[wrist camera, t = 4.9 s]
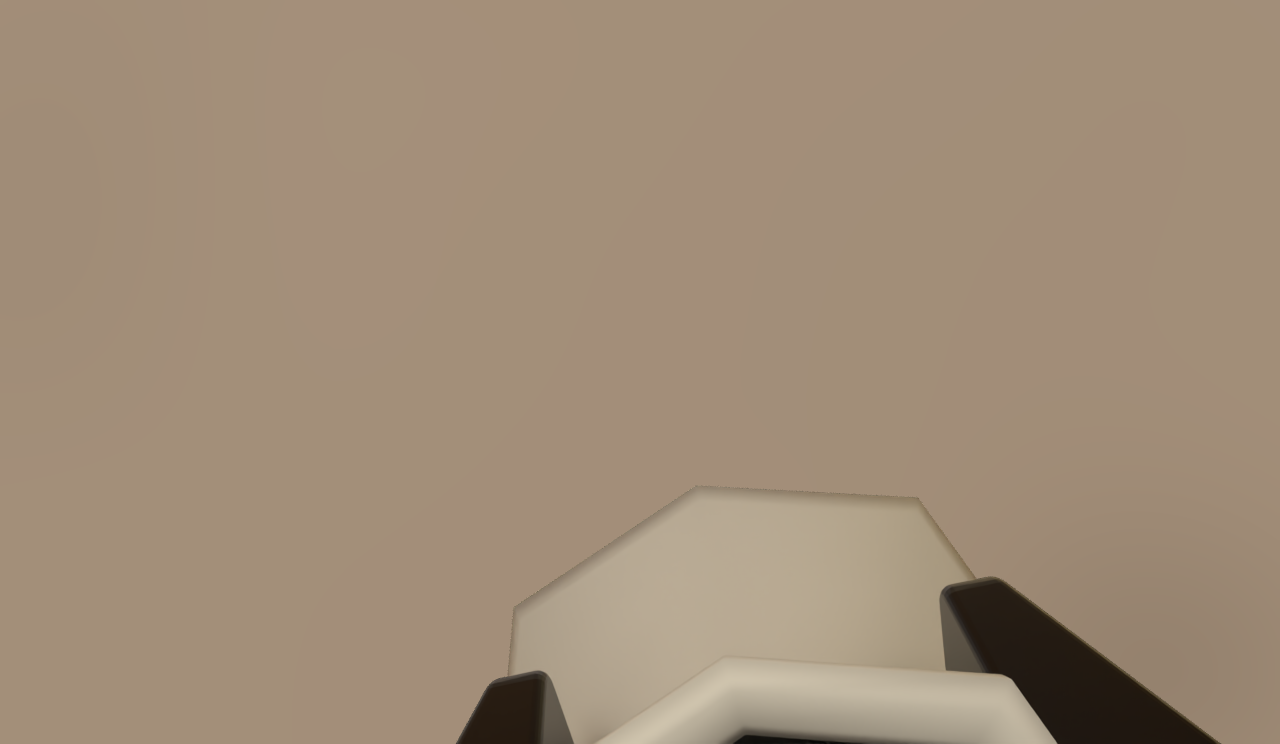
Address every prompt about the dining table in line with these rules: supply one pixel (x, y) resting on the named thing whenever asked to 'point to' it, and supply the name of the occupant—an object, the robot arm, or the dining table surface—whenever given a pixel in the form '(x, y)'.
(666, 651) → the flask
